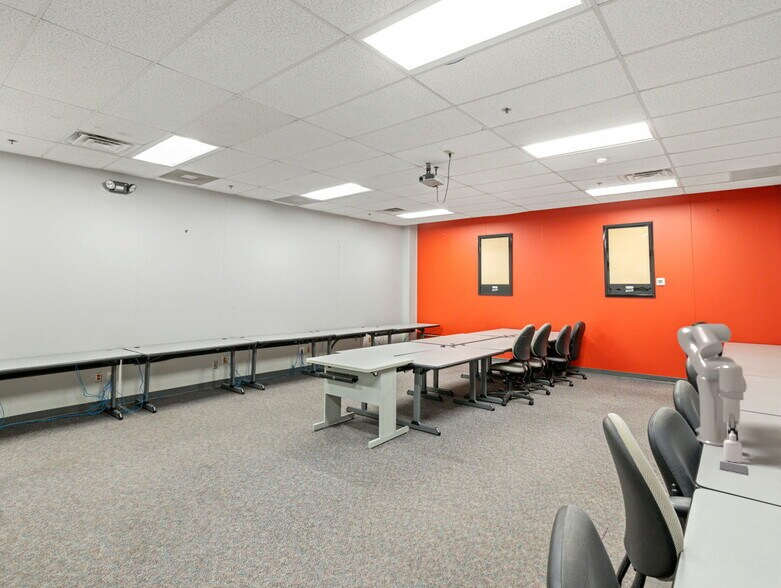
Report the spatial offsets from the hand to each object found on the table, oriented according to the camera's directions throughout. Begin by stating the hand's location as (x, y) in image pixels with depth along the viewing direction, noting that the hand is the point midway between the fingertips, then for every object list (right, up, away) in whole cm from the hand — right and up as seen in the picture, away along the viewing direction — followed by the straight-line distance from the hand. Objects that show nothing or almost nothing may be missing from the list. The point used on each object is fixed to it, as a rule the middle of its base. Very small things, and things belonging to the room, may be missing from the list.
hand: (733, 439), depth 167 cm
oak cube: (+4, -8, +6) cm, 10 cm away
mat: (-9, -7, -10) cm, 15 cm away
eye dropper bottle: (-3, -8, -4) cm, 9 cm away
